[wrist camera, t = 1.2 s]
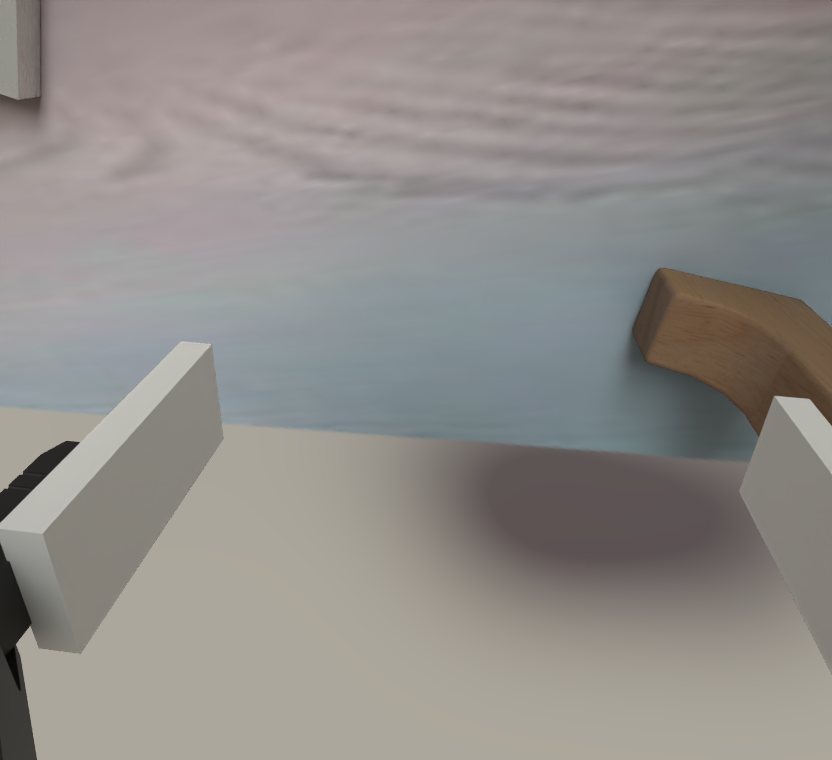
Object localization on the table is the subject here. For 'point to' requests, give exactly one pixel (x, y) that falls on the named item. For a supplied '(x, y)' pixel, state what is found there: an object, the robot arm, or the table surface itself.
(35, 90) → the peg board
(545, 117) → the table surface
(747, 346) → the wooden block
